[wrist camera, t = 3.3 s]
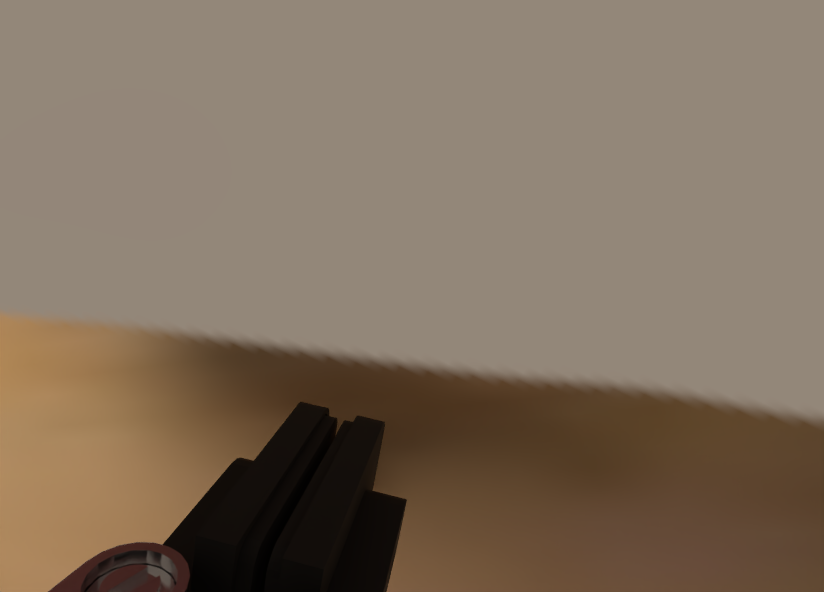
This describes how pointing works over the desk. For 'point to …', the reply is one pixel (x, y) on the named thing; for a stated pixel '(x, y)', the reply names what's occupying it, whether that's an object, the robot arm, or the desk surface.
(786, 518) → the desk surface
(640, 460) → the desk surface
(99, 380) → the desk surface
